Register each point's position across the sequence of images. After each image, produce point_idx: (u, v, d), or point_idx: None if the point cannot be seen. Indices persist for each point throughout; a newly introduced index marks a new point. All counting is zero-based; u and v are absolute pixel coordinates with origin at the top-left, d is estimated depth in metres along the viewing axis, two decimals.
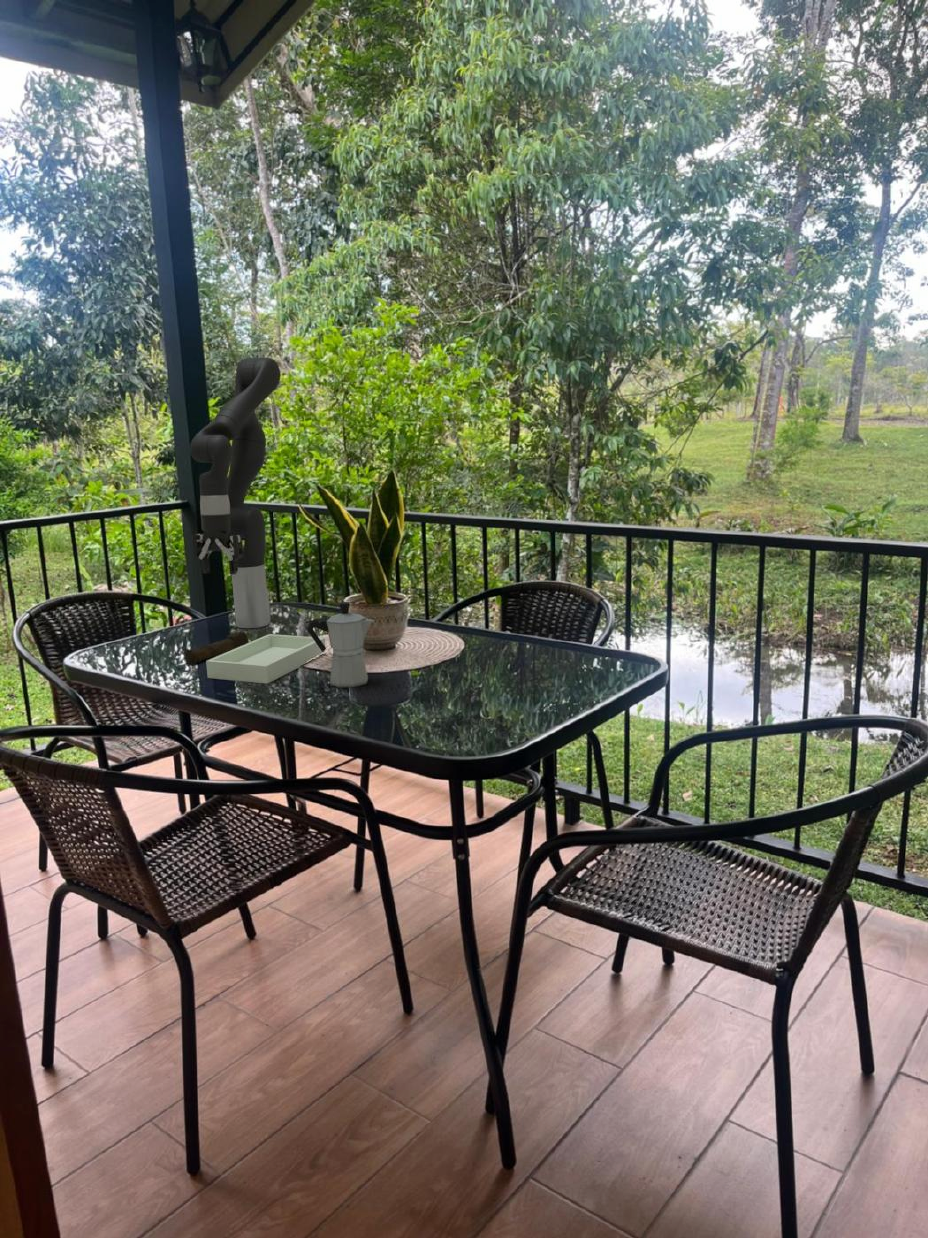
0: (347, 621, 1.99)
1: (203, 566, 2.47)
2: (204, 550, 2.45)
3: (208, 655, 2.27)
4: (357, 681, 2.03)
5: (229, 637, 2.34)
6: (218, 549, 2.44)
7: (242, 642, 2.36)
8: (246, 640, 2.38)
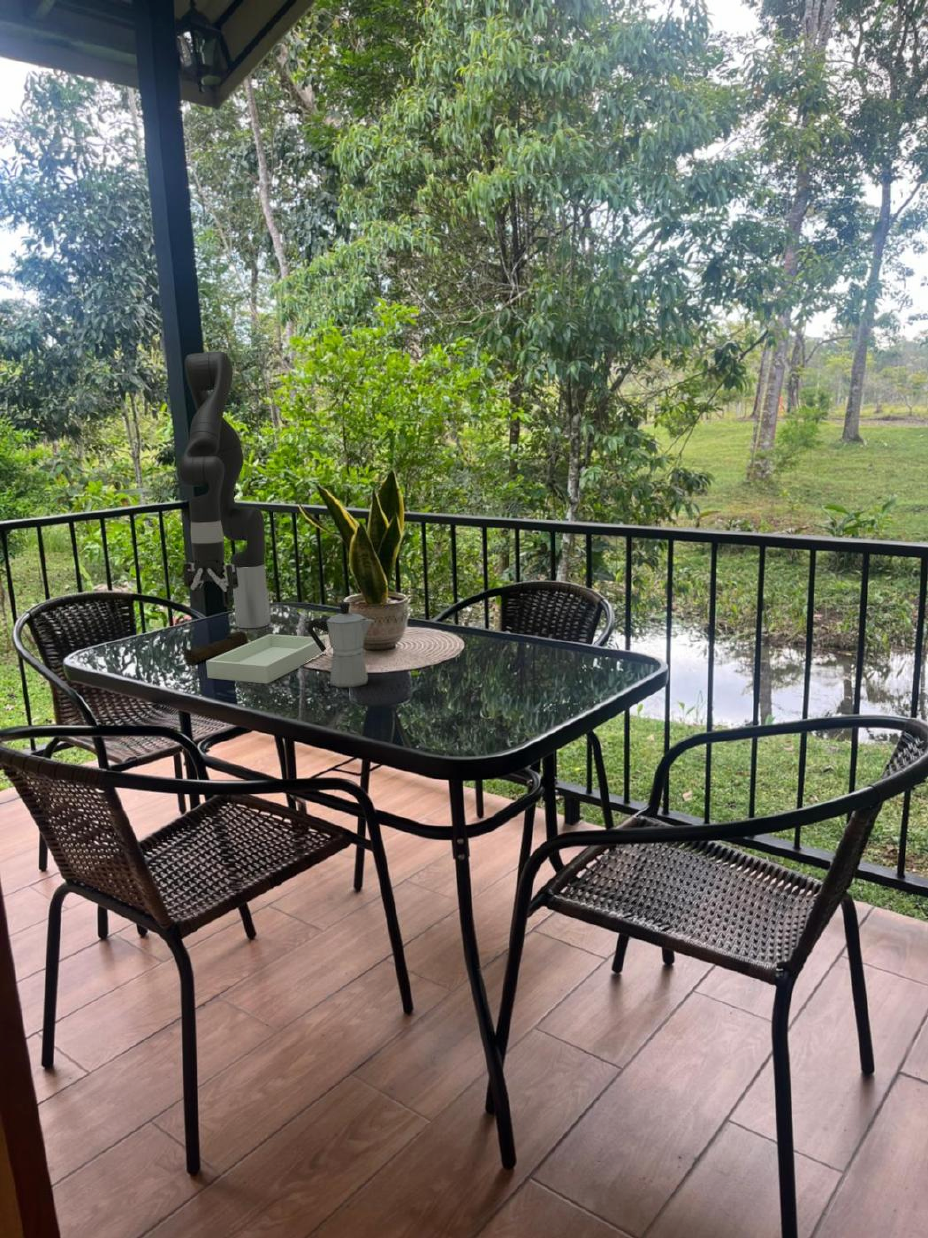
0: (347, 621, 1.99)
1: (195, 597, 2.29)
2: (196, 580, 2.27)
3: (208, 655, 2.27)
4: (357, 681, 2.03)
5: (229, 637, 2.34)
6: (211, 579, 2.26)
7: (241, 642, 2.36)
8: (245, 640, 2.38)
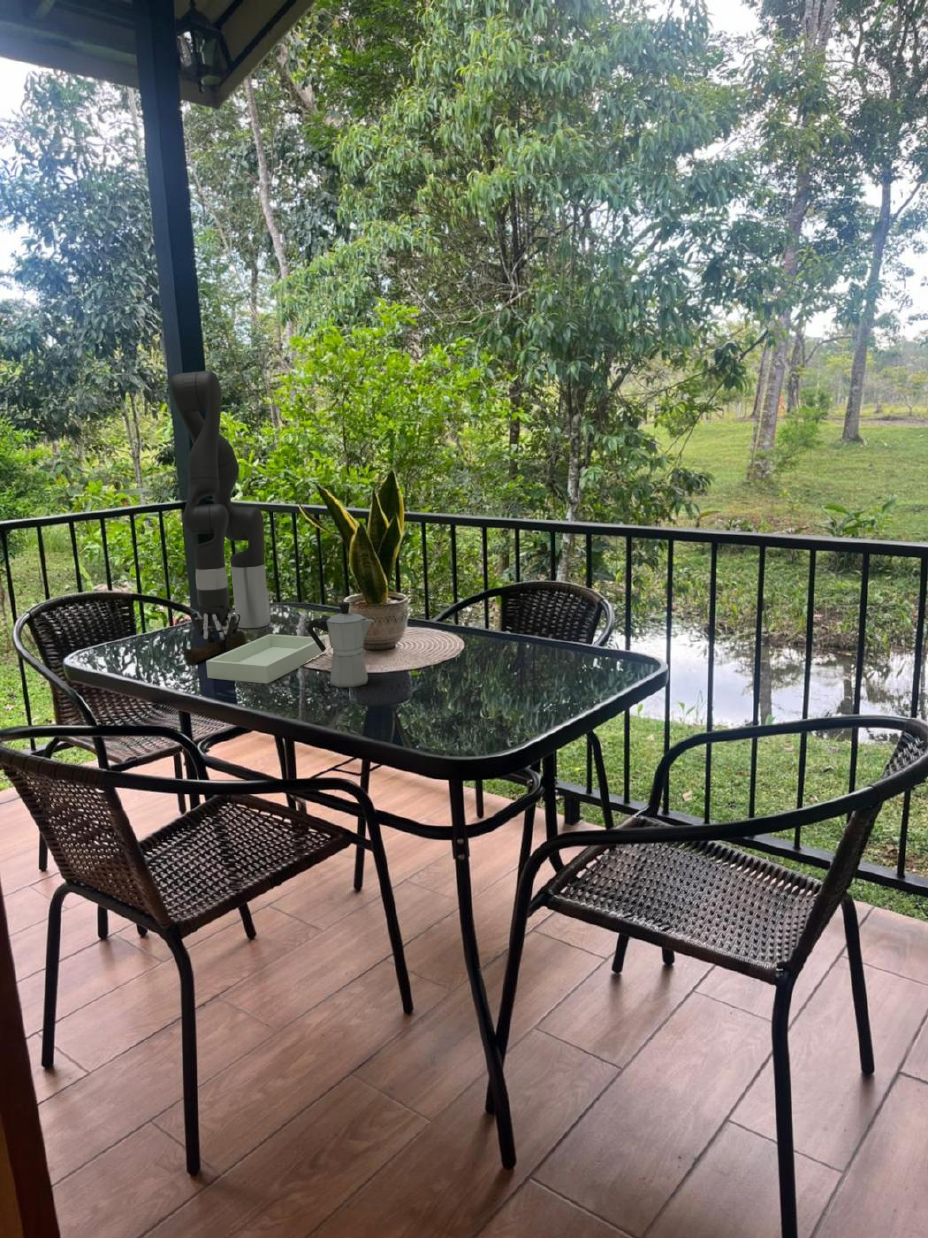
0: (347, 621, 1.99)
1: None
2: (205, 628, 2.30)
3: (208, 654, 2.27)
4: (357, 681, 2.03)
5: None
6: (212, 623, 2.29)
7: (240, 641, 2.37)
8: (243, 639, 2.38)
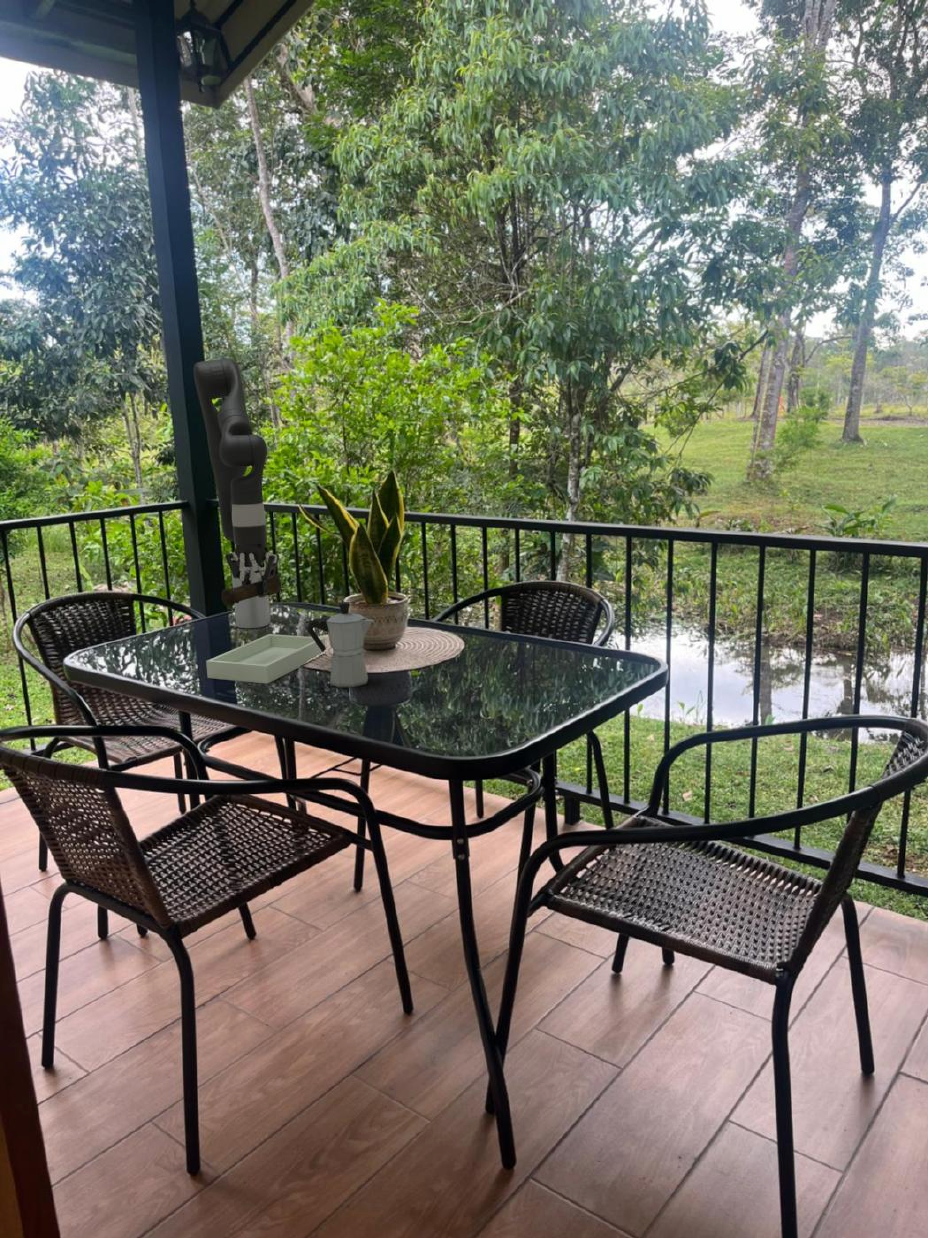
0: (347, 621, 1.99)
1: None
2: (242, 568, 2.16)
3: (246, 596, 2.13)
4: (357, 681, 2.03)
5: None
6: (249, 563, 2.15)
7: (276, 584, 2.23)
8: (279, 583, 2.25)
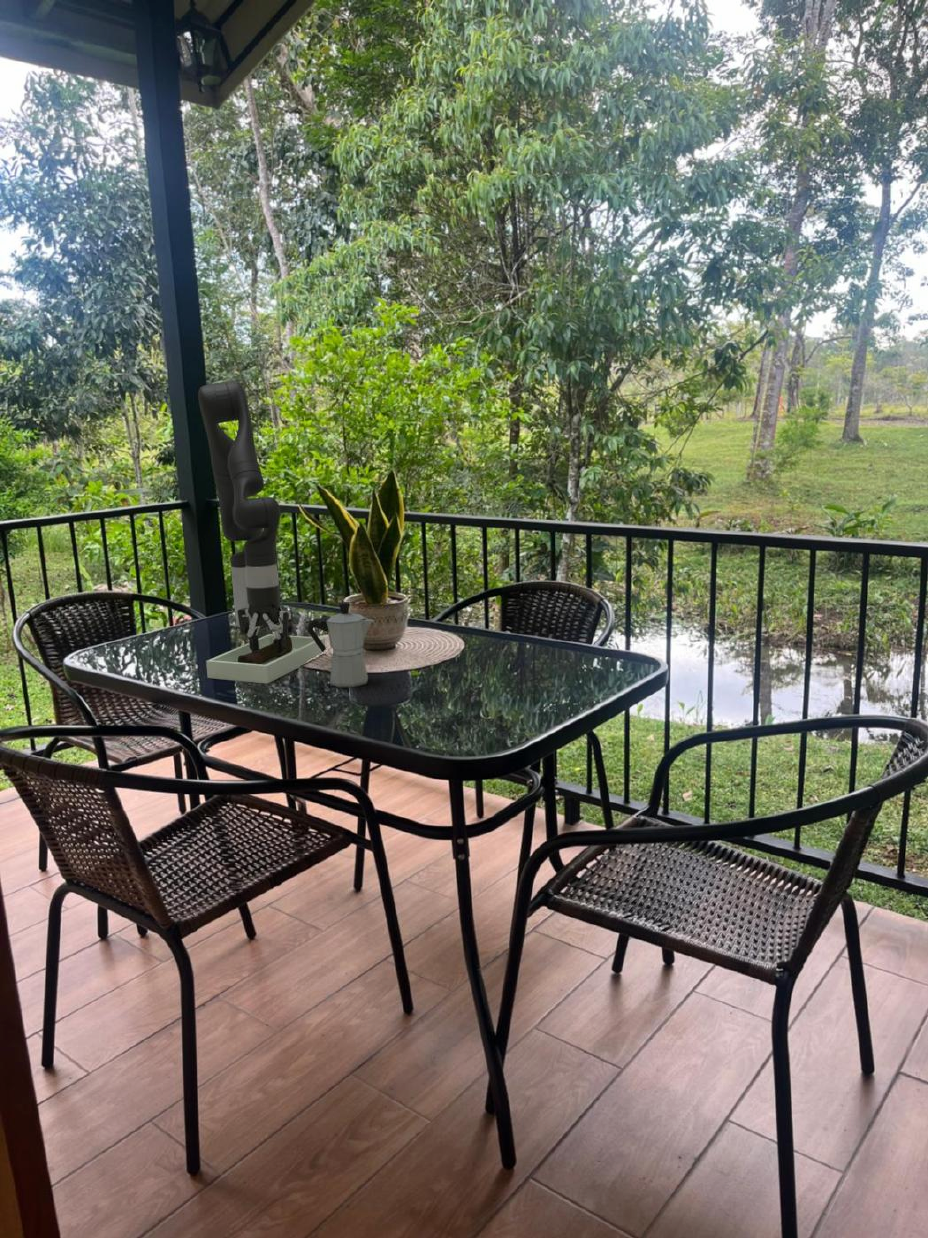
0: (347, 621, 1.99)
1: (252, 645, 2.20)
2: (252, 626, 2.18)
3: (261, 660, 2.16)
4: (357, 681, 2.03)
5: None
6: (265, 624, 2.18)
7: (288, 646, 2.26)
8: (291, 644, 2.28)
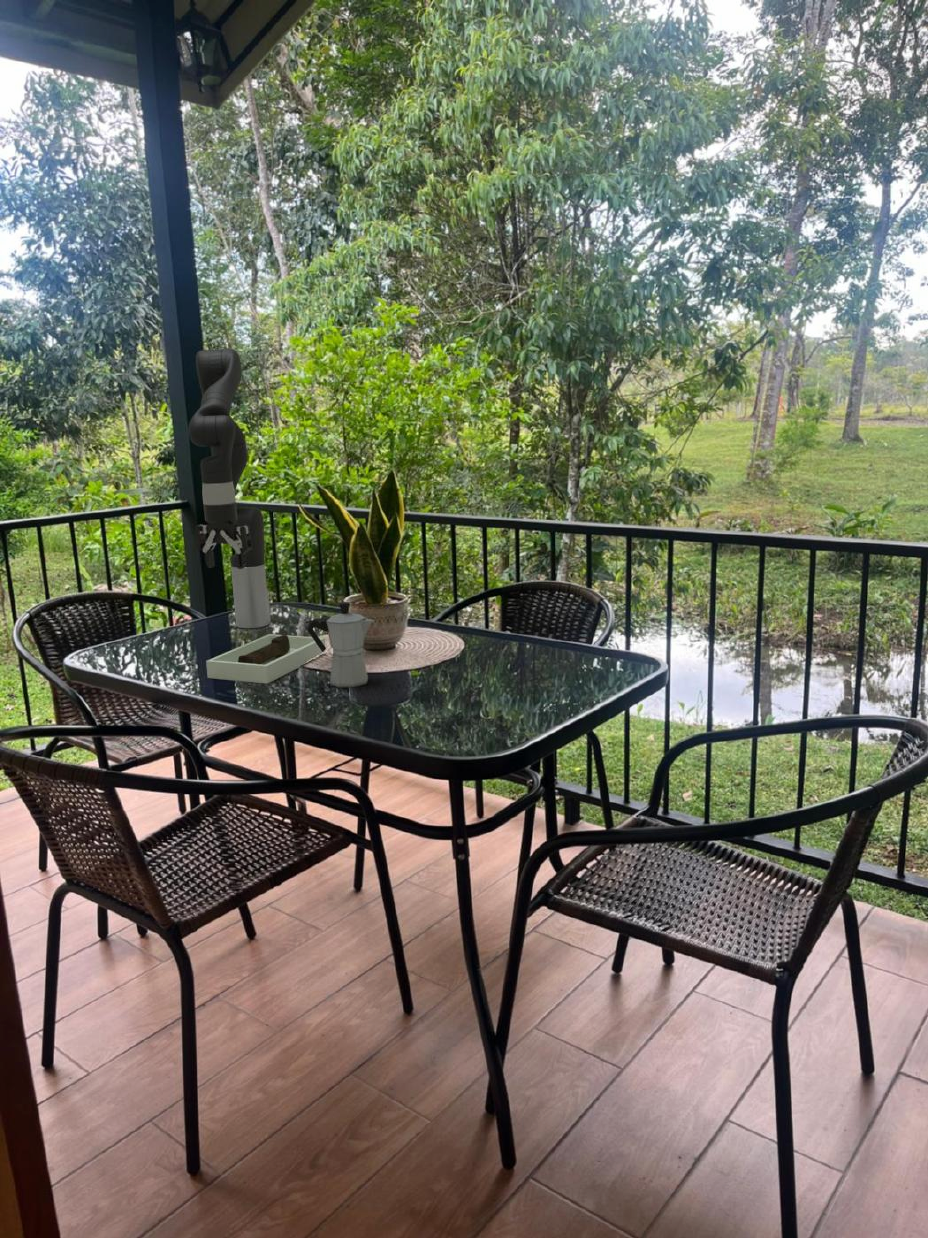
0: (347, 621, 1.99)
1: (208, 560, 2.26)
2: (208, 543, 2.23)
3: (261, 660, 2.16)
4: (357, 681, 2.03)
5: (275, 641, 2.23)
6: (224, 541, 2.23)
7: (286, 646, 2.26)
8: (288, 643, 2.28)
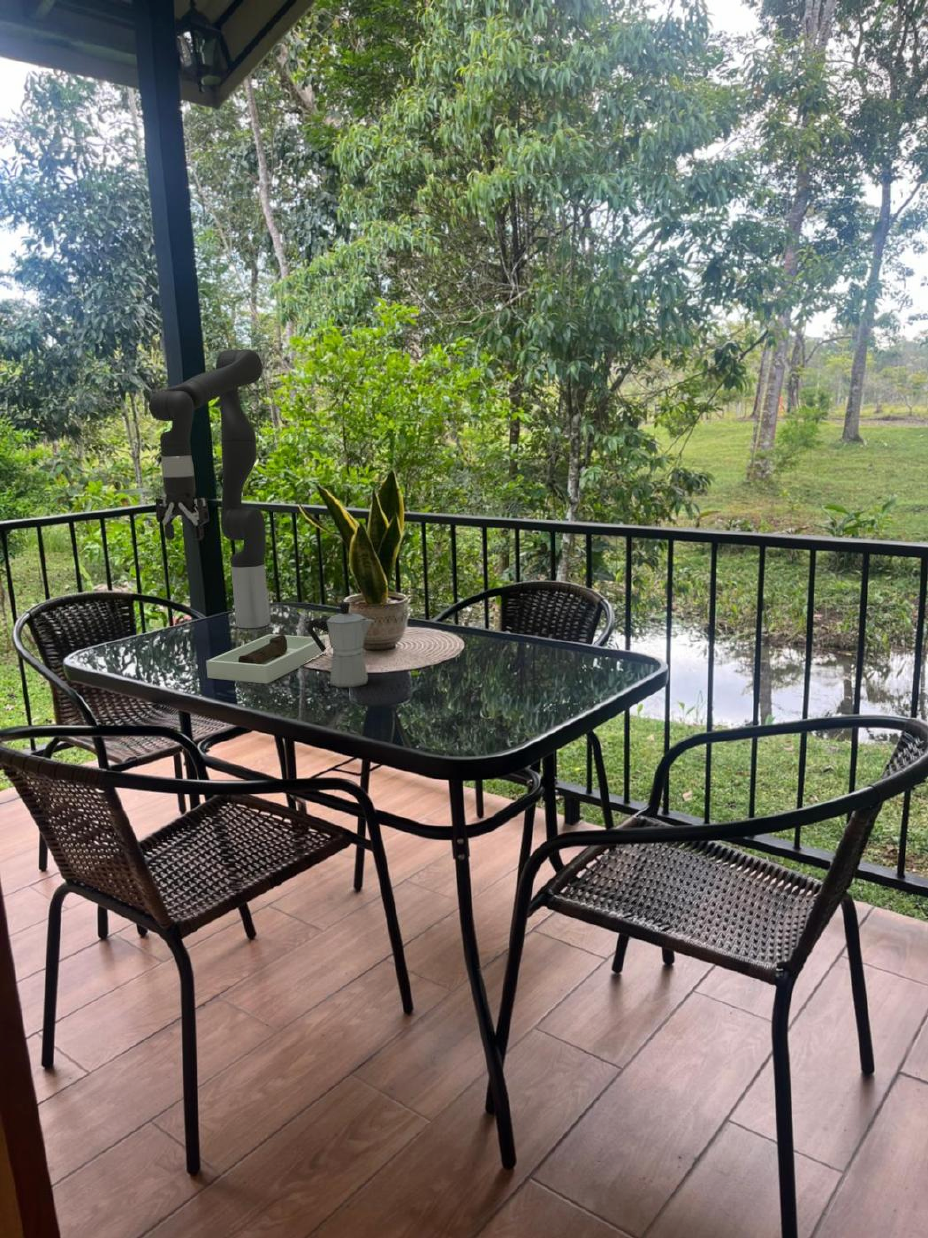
0: (347, 621, 1.99)
1: (167, 532, 2.33)
2: (167, 515, 2.31)
3: (261, 660, 2.16)
4: (357, 681, 2.03)
5: (273, 641, 2.23)
6: (182, 513, 2.30)
7: (284, 645, 2.26)
8: (286, 643, 2.28)
